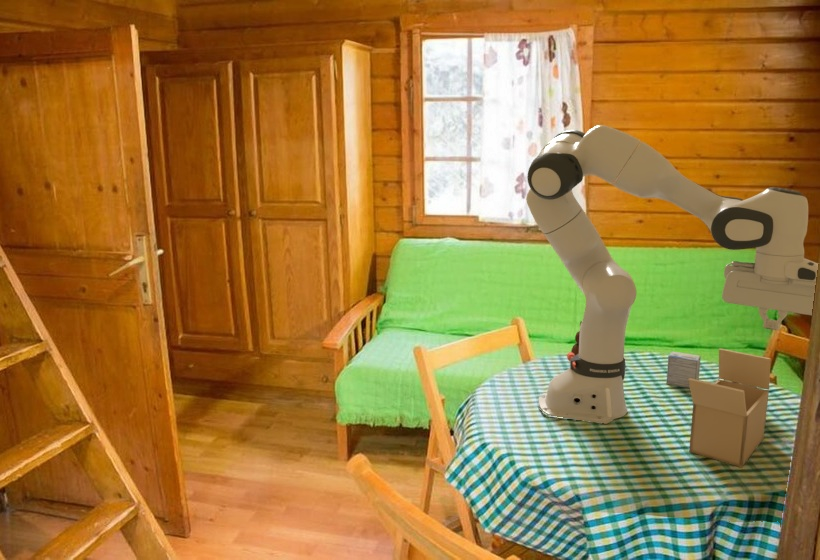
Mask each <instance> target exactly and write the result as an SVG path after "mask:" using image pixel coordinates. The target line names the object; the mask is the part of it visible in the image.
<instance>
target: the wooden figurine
mask: <svg viewBox="0 0 820 560" xmlns="http://www.w3.org/2000/svg"><path fill="white" fill-rule="evenodd" d="M582 321H583V320H580V321H579V322H580V323H579V326H580V325H581V323H582ZM579 337H580V330H578V331H577V332H576V334H575V336H574V338H575V339H574V340H575V343H574V345H572V347H571V350H570V352H572V353H574V355H577V354H578V353H579Z"/></svg>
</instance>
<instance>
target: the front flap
mask: <svg viewBox="0 0 820 560" xmlns="http://www.w3.org/2000/svg"><path fill="white" fill-rule="evenodd" d="M688 380H689V385H690V388H689V389H690V394H691V401H692V404H693V403H694V404H697V405H701V406H705V407H709V408H713V409H717V410H721V411H725V412H729V413H733V414H737V415H741V416H745V417H746V416H747V412H746V403H745V394H744V390H740V389H736V388H731V387H727V386H723V385H718V384H714V383H715V382H709V381H706V380H705V381H704V380H700V379H699V380H697V379H692V378H689V379H688Z"/></svg>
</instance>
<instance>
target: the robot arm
mask: <svg viewBox="0 0 820 560" xmlns="http://www.w3.org/2000/svg"><path fill="white" fill-rule="evenodd" d="M587 176H595V177H597V178H600V179H602V180H603V181H605V182H606V183H608V184H610V185H612V186H613V187H615V188H617V189H618V190H620V191H622V192H623V193H627V194H629V195H632V196H635V197H637V198H641V199H659V200H662V201H666V202H669V203H671V204H673V205H675V206H677V207H679V208H680V209H682V210H684V211H686V212H688V213H690V214H691V215H693V216H695V217H697V218H699V219H700V220H701V222H702V223H704V224H705V226H706V227H707V229H708V231H710V234H711V237H712V238H713V240H714V242H716V244H717V245H719V246H720V247H722V248H724V249H727V250H731V251H739V250H748V249H755V255H754V257H755V258H754V262H745V261H744V262H742V261H738V260H737V261H736V260H734V261H732V262H730V263H727V264H726V265H725V267H724V271H723V276H724V278H725V281H724V284H723V288H722V292H721V298H722V299H721V300H723V301H724V303H727V304H731V305H732V304H733V305H739V306H746V307H752V308H753V307H754V308H758V314H759V316H760V317H761V320H762V321H763V324H762V328H763V329H766V330H772V331H779V330H780V328H781V322H782V321H783V320H784V319H785V318H786V317H787V315H788V313H792V314H801V315H805V316H806V315H807V316H812V309H813V301H814V293H815V285H816V277H817V270H818V264H819V263H818V262H815V261H813V260H810V259H808V258H806V257H805V248H804V247H805V246H804V242H805V239H806V235H807V233H808V223H809V203H808V198H807V197H806V196H805V195H804V194H803V193H801V192H799V191H797V190H793V189H790V188H785V187H776V186H775V187H774V186H772V187H767V188H766V189H765V190H763V191H761V192H760V193H758V194H756V195H753V196H751V197H749V198H746V199H742V198H740V197H734V196H725V195H719V194H717V193H715V192H712V191H711V190H710V189H707V188H706V187H704V186H702V185H700V184H698V183H697V182H695V181H693V180H691V179H689V178H687V177H686V176H684V175H683V174H682V173H681V172H680V171H679V170H677V169H676V168H675V166H674V165H673V164H672V163H671V162H670V161H669V160H668V159H667V158H666V157H665V156H663V155H662V153H660V152H659V151H658V150H656V149H655V148H653V147H652V146H650V145H649V144H647V143H646V142H644V141H641V139H639V138H637V137H635V136H633V135H631V134H628V133H626V132H624V131H622V130H620V129H616V128H614V127H610V126H607V125H603V124H601V125H599V124H598V125H596V126H594V127H592V128H590V129H589V130H588V131H587V132H586V133H585V132H583V131H581V130H577V129H568V130H564V131H562V132H560V133H558V134H556V136H554V137H553V139H551V140H550V141H549V142H548V143H546V144H545V146H544V147H543V148H542V149H541V151H540V152H539V153H538V155H537V156H536V157H535V158H534V159H533V160H532V162H531V164H530V166H529V167H528V171H527V177H526V179H527V184H528V186H529V190H528V192H527V195H526V199H525V200H526V205H527V206H528V208H529V211H530V214H531V215H532V217H533V219H534V221H535V222H536V225H537V227H538V228H539V229H540V231H541V233H542V235H544V237H545V239H546V240H547V241H548V243H549V245H550V246H551V247H552V249H553V250H554V252H555V253H556V255H557V256H558V257H559V259H560V261H561V262H562V264H563V265H564V267H565V269H567V271H568V273H569V275H570V276H571V278H572V279H573V281H574V282H575V284H576V286H577V287H578V288H579V290H580V291H581V292H582V294H583V295H584V297H585V308H584V313H583V318H582V320H581V321H582V323H581V325H580V324H579V331H580V337H579V353H578V354H577V355H574V353H572V352H571V351H570V352H568V353H567V354H566V358H567V361H569V366H570V367H569V368H567V369H566V370H563V372H561V373H559V374H558V375H556V376H554V377H553V378H552V379H551V380H550V382H549V384H548V387H547V392H544V393H541V394H540V395H539V396H538V402H537V404H538V403H539V407H540V409H541V410H542V411H543V412H544V413H546V414H547V415H551V416H557V417H563V418H569V419H576V420H584V421H583V422H585V421H590V422H589V423H593V422H597V423H596V424H602V423H604V425H607V424H610V423H611V422H612V421H613V420H617V419H620V418H622V417H624V416H625V415H626V414H627V413H628V408H627V404H626V399H625V392H624V391H625V389H624V380H625V376H626V358H625V354H624V353H625V343H626V342H625V341H626V340H625V339H626V329H627V325H628V321H629V317H630V313H631V309H632V306H633V305H634V304H635V301H636V299H637V288H636V283H635V282H634V279H633V278H632V276H631V274H629V272H628V271H626V270H625V269H624V268H623V267H621V266H620V265H619V264H618V263H617V262H616V261H615V260H614V259H613V257H612V255H611V254H610V252H609V250H608V249H607V247H606V245H605V243H604V241H603V239H602V237H601V236H600V235H601V234H600V233H599V232H598V230H597V228H596V227H595V225H594V223H592V221H591V219H590V218H589V216H588V215H587V214H586V212H585V211H584V209H583V208H582V206H581V205H580V203H579V201H578V200H577V199H576V197H575V195H574V192H573V189H574V188H575V187H577V186H578V185H579V184H580V183H581V182H582V181H583V179H584V177H587ZM769 310H771V311H773V310H774V311H777V316H779V317H778V319H777V320H776V319H770V318H769V315H768V314H767V312H769ZM542 397H544V398H542ZM539 407H538V408H539ZM540 409H539V410H540ZM576 420H575V421H576Z"/></svg>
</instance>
